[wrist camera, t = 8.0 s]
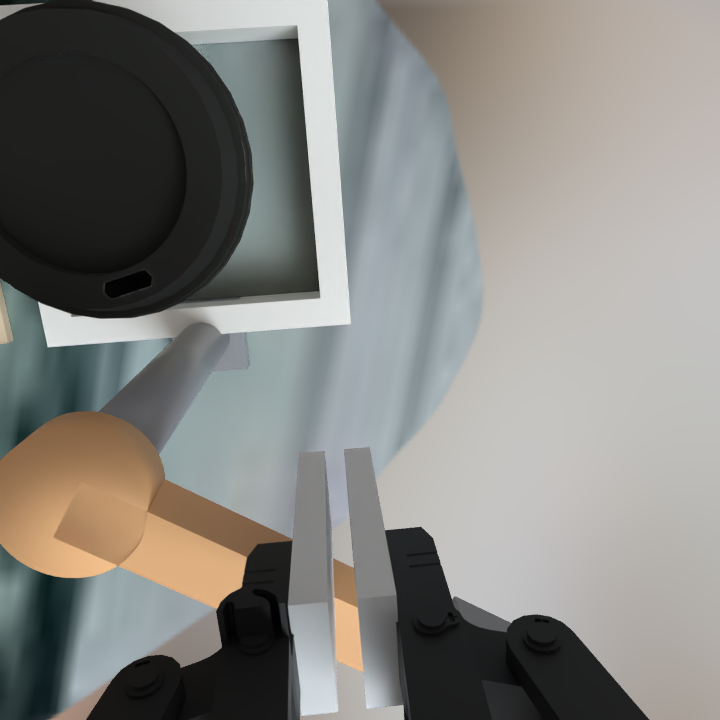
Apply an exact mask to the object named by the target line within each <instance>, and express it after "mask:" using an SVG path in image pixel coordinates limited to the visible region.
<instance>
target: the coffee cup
mask: <svg viewBox="0 0 720 720" xmlns="http://www.w3.org/2000/svg"><path fill="white" fill-rule="evenodd" d="M252 192H253V167H252V153H251V149H250V145H249V141H248V137H247V133H246V129H245V125H244V121H243V119H242V117H241V115H240V113H239V110H238V108H237V106H236V104H235V102H234V99H233V97H232V95H231V93H230V91H229V90H228V88H227V87H226V85H225V84H224V83H223V81H222V80H221V78H220V77H219V75H218V74H217V72H216V71H215V70H214V68H213V67H212V65H211V64H210V63H209V62H208V61H207V60H206V59H205V58H204V57H203V56H202V55H201V54H200V53H199V52H198V51H197V50H196V49H195V48H194V47H193V46H192V45H191V44H190V43H189V42H188V41H186V40H185V39H183V38H182V37H181V36H179V35H178V34H176V33H175V32H173V31H172V30H170V29H169V28H167V27H166V26H164V25H163V24H162V23H160V22H158V21H156V20H154V19H151V18H149V17H147V16H144V15H142V14H140V13H137V12H135V11H133V10H131V9H128V8H124V7H120V6H115V5H111V4H106V3H101V2H97V1H92V0H56V1H52V2H47V3H43V4H39V5H34V6H30V7H26V8H23V9H21V10H19V11H17V12H15V13H13V14H11V15H9V16H7V17H5V18H3V19H0V278H1V279H2V280H3V281H5V282H7V283H9V284H10V285H11V286H13V287H14V288H15V289H17V290H19V291H20V292H22V293H24V294H26V295H27V296H29V297H31V298H33V299H35V300H36V301H38V302H40V303H42V304H44V305H47V306H50V307H53V308H55V309H58V310H61V311H64V312H67V313H70V314H73V315H80V316H86V317H92V318H98V319H115V318H136V317H140V316H145V315H149V314H154V313H158V312H162V311H164V310H166V309H168V308H171V307H173V306H175V305H177V304H180V303H182V302H184V301H186V300H187V299H189V298H190V297H192V296H193V295H194V294H196V293H197V292H199V291H200V290H201V289H203V288H204V287H206V286H207V285H208V284H209V283H210V282H211V281H212V280H213V279H214V277H215V276H216V275H217V274H218V273H219V272H220V271H221V270H222V269H223V268H224V266H225V265H226V264H227V262H228V261H229V259H230V257H231V256H232V254H233V252H234V250H235V249H236V247H237V245H238V244H239V242H240V240H241V237H242V234H243V231H244V228H245V225H246V223H247V220H248V217H249V214H250V207H251V199H252Z"/></svg>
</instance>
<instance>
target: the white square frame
mask: <svg viewBox="0 0 720 720" xmlns="http://www.w3.org/2000/svg"><path fill="white" fill-rule="evenodd" d="M92 1H97V2H101V3H106V4H111V5H115V6H120V7H124V8H128V9H131V10H133V11H135V12H137V13H140V14H142V15H144V16H147V17H149V18H151V19H154V20H156V21H158V22H160V23H162V24H163V25H164V26H166V27H167V28H169V29H170V30H172V31H173V32H175V33H176V34H178V35H179V36H181V37H182V38H183V39H185V40H186V41H188V42H189V43H190V44H191V45H194V44H211V43H228V42H245V41H262V40H278V39H295V38H298V40H299V51H300V63H301V75H302V87H303V98H304V110H305V122H306V134H307V145H308V157H309V169H310V181H311V192H312V204H313V216H314V228H315V239H316V251H317V263H318V275H319V287H320V291H314V292H301V293H287V294H274V295H260V296H247V297H234V298H220V299H207V300H194V301H184V302H182V303H180V304H177V305H175V306H173V307H171V308H168V309H166V310H164V311H162V312H158V313H154V314H149V315H145V316H140V317H136V318H115V319H98V318H92V317H86V316H80V315H73V314H70V313H67V312H64V311H61V310H58V309H55V308H53V307H50V306H47V305H44V304H42V303H40V302H38V303H39V308H40V313H41V317H42V322H43V327H44V331H45V336H46V341H47V345H48V347H57V346H70V345H83V344H96V343H109V342H122V341H135V340H148V339H161V338H172V342H171V343H170V344H169V345H168V346H167V347H166V348H165V349H164V350H162V351H161V352H160V353H159V354H158V355H157V356H156V357H155V358H154V359H153V360H152V361H151V362H150V363H149V364H148V365H147V366H146V367H145V368H144V369H143V370H142V371H141V372H140V373H139V374H138V375H136V376H135V377H134V378H133V379H132V380H131V381H130V382H129V383H128V384H127V385H126V386H125V387H124V388H123V389H122V390H121V391H120V392H119V393H118V394H117V395H116V396H115V397H114V398H113V399H112V400H110V401H109V402H108V403H107V404H106V405H105V406H104V407H103V408H102V409H101V410H100V411H99V412H100V413H105V414H109V415H112V416H115V417H118V418H120V419H122V420H124V421H126V422H128V423H130V424H131V425H133V426H134V427H136V428H137V429H138V430H140V431H141V432H142V433H143V434H144V435H145V436H146V437H147V438H148V439H149V440H150V442H151V443H152V444H153V446H154V447H155V449H156V450H157V452H158V454H160V452H161V451H162V449H163V448H164V446H165V444H166V443H167V441H168V440H169V438H170V437H171V435H172V433H173V432H174V430H175V429H176V427H177V426H178V424H179V422H180V421H181V419H182V418H183V416H184V415H185V413H186V412H187V410H188V408H189V407H190V405H191V404H192V402H193V401H194V399H195V397H196V396H197V394H198V393H199V391H200V390H201V388H202V386H203V385H204V383H205V382H206V380H207V379H208V377H209V375H210V374H211V372H212V371H223V370H235V369H248V367H249V365H250V364H249V355H248V347H247V339H246V332H252V331H265V330H278V329H291V328H304V327H317V326H330V325H343V324H351V320H350V306H349V292H348V278H347V264H346V250H345V237H344V223H343V209H342V195H341V181H340V167H339V153H338V139H337V126H336V112H335V98H334V84H333V70H332V56H331V42H330V28H329V15H328V1H327V0H92ZM39 4H43V3H37V4H19V5H2V6H0V19H3V18H5V17H7V16H9V15H11V14H13V13H15V12H17V11H19V10H21V9H23V8H26V7H30V6H34V5H39Z"/></svg>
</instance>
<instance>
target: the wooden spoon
mask: <svg viewBox="0 0 720 720" xmlns="http://www.w3.org/2000/svg"><path fill="white" fill-rule="evenodd" d="M284 541H293V539H291V538H289V537H287V536H284V535H282V534H280V533H278V532H276V531H274V530H272V529H269V528H267V527H265V526H263V525H261V524H259V523H257V522H255V521H252V520H250V519H248V518H246V517H244V516H242V515H240V514H238V513H235V512H233V511H231V510H229V509H227V508H225V507H223V506H220V505H218V504H216V503H214V502H212V501H210V500H208V499H206V498H203V497H201V496H199V495H197V494H195V493H193V492H191V491H189V490H186V489H184V488H182V487H180V486H178V485H176V484H174V483H172V482H169V481H167V480H165V474H164V468H163V464H162V461H161V458H160V456H159V454H158V452H157V450H156V449H155V447H154V446H153V444H152V443H151V442H150V440H149V439H148V438H147V437H146V436H145V435H144V434H143V433H142V432H141V431H140V430H138V429H137V428H136V427H134V426H133V425H131V424H130V423H128V422H126V421H124V420H122V419H120V418H118V417H115V416H112V415H109V414H105V413H100V412H92V411H80V412H72V413H67V414H64V415H61V416H58V417H56V418H54V419H52V420H50V421H48V422H46V423H45V424H43V425H42V426H41V427H39V428H38V429H37V430H36V431H35V432H33V433H32V434H31V435H30V436H28V437H27V438H26V439H25V440H24V441H22V442H21V443H20V444H19V445H17V446H16V447H15V448H14V449H12V450H11V451H10V452H9V453H8V454H7V455H5V456H4V457H3V458H2V459H1V460H0V544H1V545H2V546H3V547H4V548H5V549H6V550H7V551H8V552H9V553H10V554H11V555H12V556H13V557H15V558H16V559H17V560H18V561H20V562H22V563H23V564H25V565H26V566H28V567H30V568H32V569H34V570H36V571H39V572H42V573H45V574H48V575H52V576H57V577H64V578H82V577H90V576H94V575H98V574H101V573H104V572H107V571H109V570H111V569H113V568H115V567H116V566H120V567H122V568H124V569H126V570H129V571H131V572H133V573H136V574H138V575H140V576H143V577H145V578H147V579H149V580H152V581H154V582H156V583H159V584H161V585H163V586H166V587H168V588H170V589H172V590H175V591H177V592H179V593H182V594H184V595H186V596H189V597H191V598H193V599H195V600H198V601H200V602H202V603H205V604H207V605H209V606H212V607H214V608H216V609H218V607H219V604H220V602H221V601H222V600H223V599H224V598H225V597H227V596H228V595H229V594H230V593H232V592H234V591H236V590H238V589H240V588H241V586H242V581H243V576H244V570H245V565H246V560H247V557H248V555H249V554H250V553H251V552H252V550H253V549H254V548H255V547H256V545H257V544H263V543H273V542H284ZM333 575H334V604H335V632H336V660H337V661H338V662H340V663H343V664H345V665H347V666H350V667H352V668H354V669H357V670H359V671H361V672H363V663H362V652H361V640H360V629H359V617H358V606H357V595H356V583H355V572H354V568H353V567H350V566H348V565H346V564H344V563H342V562H339V561H338V560H335V559H333ZM452 601H453V605H454V607H455V609H457V610H458V611H459V612H460V613H461V615H462V617H463V618H464V619H465V620H466V621H468V622H469V623H471V624H473V625H476V626H478V627H481V628H485V629H489V630H495V631H502V632H507V628H508V627H509V625H510V624H511V623H510V622H508V621H505V620H504V619H502V618H499V617H497V616H495V615H493V614H491V613H489V612H487V611H485V610H483V609H481V608H478V607H476V606H474V605H472V604H470V603H468V602H466V601H464V600H462V599H460V598H458V597H454V598H453V600H452Z"/></svg>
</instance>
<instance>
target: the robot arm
mask: <svg viewBox="0 0 720 720" xmlns="http://www.w3.org/2000/svg"><path fill="white" fill-rule="evenodd" d="M344 454H345V466H346V478H347V490H348V502H349V514H350V526H351V537H352V549H353V561H354V572H355V583H356V595H357V606H358V617H359V629H360V640H361V652H362V663H363V674H364V686H365V697H366V708H367V709H369V708H378V707H387V706H397V705H404V718H405V719H404V720H649V719H648V718H647V717H646V715H645V714H644V713H643V712H642V711H641V710H640V708H639V707H638V706H637V705H636V704H635V703H634V702H633V701H632V699H631V698H630V697H629V696H628V695H627V693H626V692H625V691H624V690H623V689H622V688H621V686H620V685H618V683H617V682H616V681H615V680H614V678H613V677H612V676H611V675H610V674H609V673H608V672H607V670H606V669H605V668H604V667H603V666H602V664H601V663H600V662H599V661H598V660H597V659H596V657H595V656H594V655H593V654H592V653H591V652H590V651H589V649H588V648H587V647H586V646H585V645H584V644H583V642H582V641H581V640H580V639H579V638H578V637H577V636H576V634H575V633H574V632H573V631H572V630H571V629H570V628H569V627H567V626H566V625H565V624H564V623H563V622H561V621H558V620H556V619H554V618H552V617H549V616H543V615H527V616H522V617H520V618H518V619H516V620H514V621H513V622H512V623H511V624H510V625H509V627H508V628H507V632H502V631H495V630H489V629H485V628H481V627H478V626H476V625H473V624H471V623H469V622H468V621H466V620H465V619H464V618H463V617H462V615H461V613H460V612H459V611H458V610H457V609H455V607H454V605H453V601H452V598H451V595H450V592H449V588H448V585H447V582H446V579H445V576H444V572H443V569H442V566H441V565H440V560H439V556H438V554H437V550H436V547H435V543H434V540H433V538H432V537H431V536H430V535H429V534H428V533H427V532H426V531H425V530H424V529H422V527H415V528H405V529H394V530H385V529H384V524H383V518H382V513H381V507H380V502H379V496H378V491H377V485H376V480H375V474H374V469H373V463H372V458H371V453H370V447H366V448H354V449H344ZM332 548H333V547H332V526H331V516H330V505H329V494H328V484H327V473H326V462H325V452H324V451H321V452H310V453H299V459H298V473H297V487H296V501H295V514H294V528H293V541H284V542H273V543H263V544H257V545H256V547H255V548H254V549H253V550H252V552H251V553H250V554H249V555H248V557H247V560H246V565H245V570H244V576H243V581H242V586H241V588H240V589H238V590H236V591H234V592H232V593H230V594H229V595H228V596H227V597H225V598H224V599H223V600H222V601H221V602H220V604H219V607H218V609H217V611H216V613H217V619H218V625H219V630H220V636H221V642H222V648H221V649H220V650H219V651H218V652H216V653H215V654H213V655H212V656H210V657H208V658H206V659H204V660H201V661H199V662H196V663H194V664H191V665H188V666H185V667H182V668H180V664H179V663H178V662H177V661H176V660H174V659H173V658H172V657H168V656H164V655H155V656H147V657H144V658H142V659H139V660H136V661H134V662H132V663H131V664H129V665H128V666H126V667H125V668H123V669H122V670H121V671H120V672H119V673H118V674H117V675H116V676H115V677H114V679H113V680H112V681H111V683H110V684H109V686H108V687H107V689H106V690H105V692H104V693H103V695H102V696H101V698H100V699H99V701H98V702H97V704H96V705H95V707H94V708H93V710H92V711H91V713H90V715H89V716H88V718H87V719H86V720H300V707H301V715H302V716H304V715H314V714H323V713H332V712H338V691H337V690H338V688H337V663H336V662H337V660H336V632H335V604H334V575H333V549H332Z"/></svg>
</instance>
